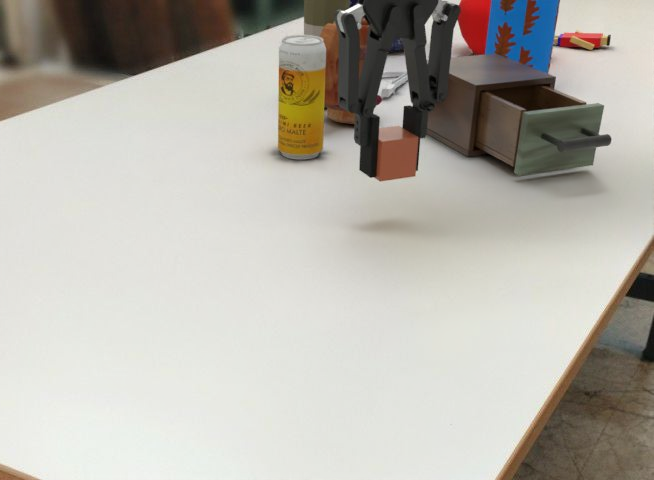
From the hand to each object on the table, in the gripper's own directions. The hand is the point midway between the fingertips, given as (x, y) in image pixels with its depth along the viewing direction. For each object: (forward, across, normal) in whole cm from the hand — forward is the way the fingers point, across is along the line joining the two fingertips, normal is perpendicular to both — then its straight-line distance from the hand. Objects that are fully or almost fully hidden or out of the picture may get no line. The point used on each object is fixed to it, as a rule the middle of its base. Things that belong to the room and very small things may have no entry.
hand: (388, 169), depth 103 cm
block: (0, 0, 0) cm, 0 cm away
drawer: (+6, -28, -10) cm, 30 cm away
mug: (+6, -12, -36) cm, 38 cm away
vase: (+7, -60, -66) cm, 89 cm away
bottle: (+6, -14, -47) cm, 49 cm away
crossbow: (+7, -30, -52) cm, 60 cm away
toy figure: (+7, -79, -68) cm, 104 cm away
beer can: (+6, -1, -26) cm, 27 cm away
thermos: (+7, -49, -46) cm, 67 cm away
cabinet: (+7, -28, -24) cm, 37 cm away
